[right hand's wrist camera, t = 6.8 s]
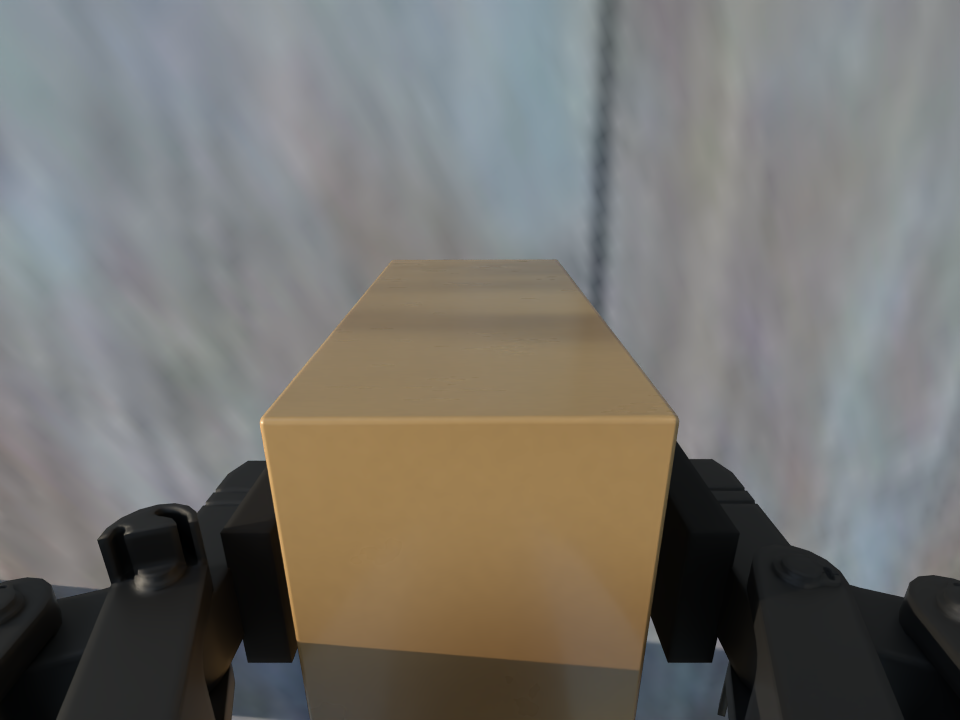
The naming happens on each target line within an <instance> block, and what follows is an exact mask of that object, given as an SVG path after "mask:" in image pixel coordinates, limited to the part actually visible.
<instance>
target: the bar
mask: <svg viewBox="0 0 960 720" xmlns="http://www.w3.org/2000/svg"><path fill="white" fill-rule="evenodd" d="M678 426H679V419H678V416H677V415H676V413H675V412H674V411H673V410H672V408H671V407H670V406H669V404H668V403H667V402H666V400H665V399H664V398H663V397H662V395H661V394H660V393H659V391H658V390H657V389H656V387H655V386H654V385H653V384H652V382H651V381H650V380H649V378H648V377H647V376H646V374H645V373H644V372H643V371H642V369H641V368H640V367H639V365H638V364H637V363H636V361H635V360H634V359H633V358H632V356H631V355H630V354H629V352H628V351H627V350H626V348H625V347H624V346H623V345H622V343H621V342H620V341H619V339H618V338H617V337H616V335H615V334H614V333H613V332H612V330H611V329H610V328H609V326H608V325H607V324H606V322H605V321H604V320H603V319H602V317H601V316H600V315H599V313H598V312H597V311H596V309H595V308H594V307H593V306H592V304H591V303H590V302H589V300H588V299H587V298H586V297H585V295H584V294H583V293H582V291H581V290H580V289H579V287H578V286H577V285H576V284H575V282H574V281H573V280H572V278H571V277H570V276H569V274H568V273H567V272H566V271H565V269H564V268H563V267H562V265H561V264H560V263H559V261H558V260H393V261H391V262H390V263H389V265H388V266H387V267H386V268H385V269H384V271H383V272H382V273H381V274H380V275H379V277H378V278H377V279H376V280H375V281H374V283H373V284H372V285H371V286H370V288H369V289H368V290H367V291H366V292H365V294H364V295H363V296H362V297H361V298H360V300H359V301H358V302H357V303H356V304H355V306H354V307H353V308H352V309H351V310H350V312H349V313H348V314H347V315H346V316H345V318H344V319H343V320H342V321H341V322H340V324H339V325H338V326H337V327H336V328H335V330H334V331H333V332H332V333H331V334H330V336H329V337H328V338H327V339H326V340H325V342H324V343H323V344H322V345H321V346H320V348H319V349H318V350H317V351H316V353H315V354H314V355H313V356H312V357H311V359H310V360H309V361H308V362H307V363H306V365H305V366H304V367H303V368H302V369H301V371H300V372H299V373H298V374H297V375H296V377H295V378H294V379H293V380H292V381H291V383H290V384H289V385H288V386H287V387H286V389H285V390H284V391H283V392H282V393H281V395H280V396H279V397H278V398H277V399H276V401H275V402H274V403H273V404H272V405H271V407H270V408H269V409H268V410H267V411H266V413H265V414H264V415H263V416H262V418H261V420H260V427H261V433H262V439H263V445H264V451H265V457H266V463H267V469H268V475H269V481H270V486H271V492H272V498H273V504H274V510H275V516H276V522H277V528H278V534H279V540H280V545H281V551H282V557H283V563H284V569H285V575H286V581H287V587H288V593H289V599H290V605H291V610H292V616H293V622H294V628H295V634H296V640H297V646H298V652H299V658H300V664H301V669H302V675H303V681H304V687H305V693H306V699H307V705H308V711H309V717H310V720H635V716H636V709H637V702H638V696H639V689H640V682H641V675H642V669H643V662H644V655H645V648H646V642H647V635H648V628H649V621H650V615H651V608H652V601H653V594H654V588H655V581H656V574H657V567H658V561H659V554H660V547H661V541H662V534H663V527H664V520H665V514H666V507H667V500H668V493H669V487H670V480H671V473H672V466H673V460H674V453H675V446H676V439H677V433H678Z"/></svg>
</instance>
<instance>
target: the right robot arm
mask: <svg viewBox="0 0 960 720" xmlns="http://www.w3.org/2000/svg"><path fill="white" fill-rule="evenodd" d="M98 544H99V547H100V550H101V553H102V556H103V559H104V562H105V566H106V569H107V572H108V575H109V578H110V581H111V586H110V587H109V588H105V589H102V590H98V591H93V592H89V593H84V594H80V595H75V596H71V597H66V598H62V599H58V600H57V599H56V597H55V594H54V591H53V589H52V586H51V584H49V583H48V582H46V581H45V580H43V579H39V578H28V577H27V578H21V579H15V580H10V581H6V582H3V583H0V720H231V719H232V709H233V698H234V688H235V679H234V673H233V668H232V664H231V662H232V660H233V658H234V656H235V653H236V651H237V649H238V647H239V645H240V643H241V641H242V639H243V642H244V646H245V651H246V656H247V660H248V663H292V661H293V659H294V656H295V653H296V651H297V648H298V646H297V640H296V634H295V628H294V622H293V616H292V610H291V605H290V599H289V593H288V587H287V581H286V575H285V569H284V563H283V557H282V551H281V545H280V540H279V534H278V528H277V522H276V516H275V510H274V504H273V498H272V492H271V486H270V481H269V475H268V469H267V463H266V461H247V462H246V463H244V464H243V465H241V466H240V467H238V468H237V469H235V470H234V471H232V472H231V473H229V474H228V475H227V476H226V477H225V479H224V480H223V481H222V482H221V484H220V485H219V486H218V487H217V489H216V493H213V494H212V495H211V496H210V498H209V499H208V500H207V501H206V505H205V506H202V508H201V509H200V510H199V511H198V513H196V511H194V510H193V509H192V508H191V507H189V506H187V505H181V504H176V503H173V504H160V505H155V506H151V507H147V508H144V509H140V510H138V511H135V512H133V513H131V514H129V515H127V516H124V517H122V518H120V519H119V520H118V521H116V522H115V523H113V524H112V525H111V526H109V527H108V528H106V530H105V531H104V532H103V533H102V535H101V536H100V537H99V538H98ZM650 616H651V618H652V621H653V624H654V626H655V629H656V632H657V634H658V637H659V640H660V643H661V645H662V648H663V651H664V653H665V656H666V659H667V661H668V663H712V660H713V656H714V651H715V646H716V642H717V637H718V639H719V641H720V643H721V645H722V647H723V649H724V651H725V653H726V655H727V657H728V659H729V664H728V668H727V673H726V677H725V681H724V686H723V690H722V694H721V699H720V703H719V709H718V715H721V716H724V717H725V714H726V710H727V707H728V717H729V720H960V581H959V580H956V579H953V578H947V577H941V576H935V575H930V576H919V577H917V578H916V579H914V580H913V581H911V582H910V583H909V586H908V589H907V591H906V594H905V597H899V596H895V595H890V594H886V593H881V592H877V591H872V590H868V589H863V588H859V587H856V586H852V585H849V583H848V582H847V580H846V579H845V577H844V576H843V574H842V573H841V572H840V571H839V570H838V569H837V568H836V567H834V566H833V565H832V564H831V563H830V562H828V561H827V560H826V559H824V558H822V557H820V556H818V555H816V554H814V553H812V552H810V551H807V550H804V549H801V548H798V547H794V546H791V545H790V544H789V543H788V542H787V540H786V539H785V538H784V537H783V535H782V534H781V533H780V532H779V530H778V529H777V528H776V527H775V525H774V524H773V523H772V522H771V520H770V519H769V518H768V517H767V515H766V514H765V513H764V512H763V510H762V509H761V508H760V507H759V505H758V504H755V500H754V499H753V498H752V497H751V495H750V494H749V493H748V492H747V491H745V490H744V487H743V485H742V484H741V483H740V482H739V480H738V479H737V478H736V477H735V475H734V474H733V473H732V472H731V471H729V470H728V469H726V468H725V467H723V466H722V465H720V464H719V463H717V462H716V461H714V460H713V459H688V457H687V456H686V454H685V453H684V451H683V450H682V448H681V447H680V445H679V444H678V443H677V441H676V446H675V453H674V460H673V466H672V473H671V480H670V487H669V493H668V500H667V507H666V514H665V520H664V527H663V534H662V541H661V547H660V554H659V561H658V567H657V574H656V581H655V588H654V594H653V601H652V608H651V615H650Z"/></svg>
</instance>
